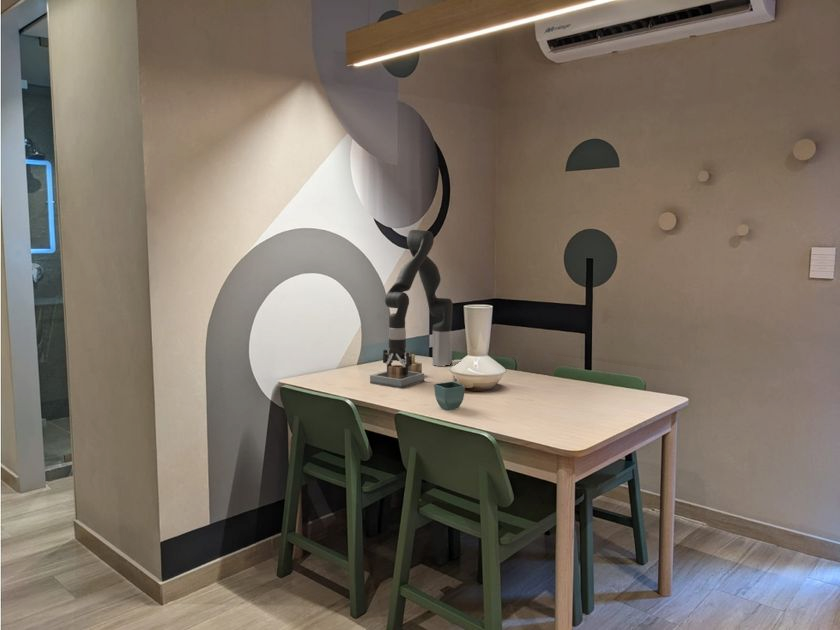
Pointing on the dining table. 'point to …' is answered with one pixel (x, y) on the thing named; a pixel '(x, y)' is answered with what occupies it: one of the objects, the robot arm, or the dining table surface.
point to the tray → (393, 382)
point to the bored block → (396, 372)
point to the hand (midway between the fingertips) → (397, 374)
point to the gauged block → (415, 366)
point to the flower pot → (449, 394)
